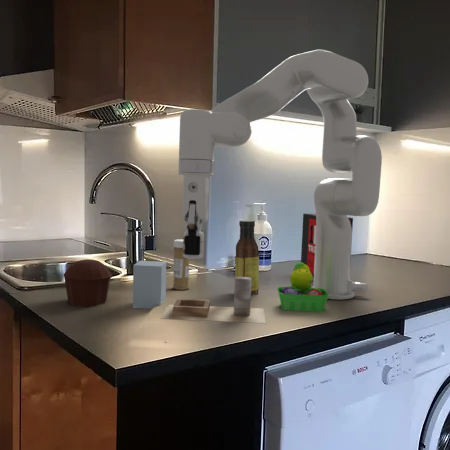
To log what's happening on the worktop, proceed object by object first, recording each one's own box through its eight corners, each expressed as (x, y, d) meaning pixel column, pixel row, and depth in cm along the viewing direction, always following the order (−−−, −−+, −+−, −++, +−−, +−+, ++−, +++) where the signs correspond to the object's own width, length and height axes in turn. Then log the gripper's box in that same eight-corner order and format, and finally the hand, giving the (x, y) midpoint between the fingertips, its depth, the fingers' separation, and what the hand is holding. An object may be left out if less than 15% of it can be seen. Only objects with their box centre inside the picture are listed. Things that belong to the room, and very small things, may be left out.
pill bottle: (182, 255, 113) (183, 220, 112) (202, 256, 113) (203, 221, 112) (182, 258, 108) (183, 222, 107) (203, 259, 109) (204, 223, 108)
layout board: (263, 312, 117) (265, 274, 116) (265, 327, 105) (267, 285, 104) (168, 308, 118) (169, 270, 117) (160, 323, 106) (161, 280, 105)
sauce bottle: (261, 294, 136) (264, 220, 134) (254, 299, 130) (258, 222, 128) (237, 291, 138) (240, 219, 136) (230, 296, 132) (233, 220, 130)
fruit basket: (278, 315, 116) (280, 266, 115) (276, 305, 124) (278, 260, 123) (328, 317, 115) (331, 268, 114) (322, 307, 124) (325, 262, 123)
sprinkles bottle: (192, 289, 139) (193, 240, 138) (177, 290, 137) (178, 241, 135) (184, 286, 143) (185, 238, 142) (169, 287, 140) (170, 239, 139)
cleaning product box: (349, 282, 156) (353, 218, 155) (323, 283, 154) (326, 217, 152) (324, 272, 172) (327, 213, 170) (300, 273, 170) (303, 213, 168)
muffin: (61, 297, 125) (61, 257, 124) (106, 294, 129) (106, 256, 128) (66, 309, 114) (66, 265, 113) (115, 306, 119) (116, 263, 118)
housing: (165, 302, 124) (166, 261, 123) (160, 309, 117) (161, 266, 116) (139, 301, 124) (139, 260, 123) (132, 307, 117) (133, 265, 117)
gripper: (210, 168, 100) (207, 259, 102) (215, 170, 117) (213, 248, 119) (173, 167, 101) (170, 258, 102) (183, 168, 117) (181, 247, 119)
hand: (193, 252), depth 110 cm, fingers closed on pill bottle, 4 cm apart
